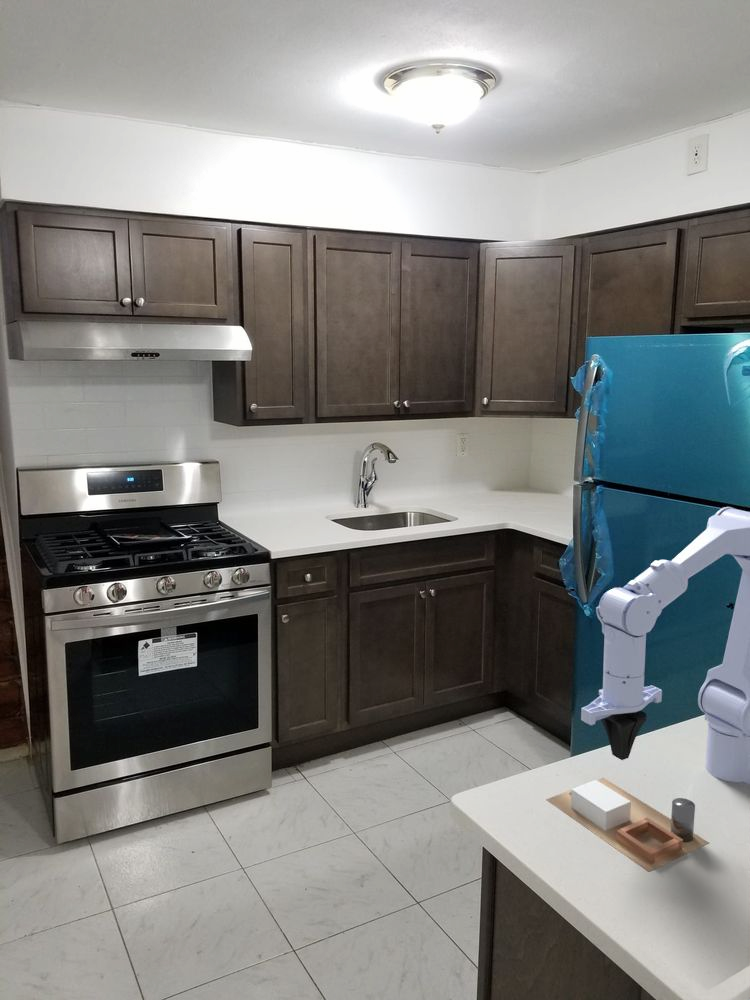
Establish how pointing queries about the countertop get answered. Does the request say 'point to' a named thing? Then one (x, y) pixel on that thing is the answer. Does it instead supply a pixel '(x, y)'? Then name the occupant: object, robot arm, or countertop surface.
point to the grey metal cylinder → (683, 819)
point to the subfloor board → (636, 831)
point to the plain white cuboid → (600, 804)
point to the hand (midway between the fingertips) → (620, 756)
